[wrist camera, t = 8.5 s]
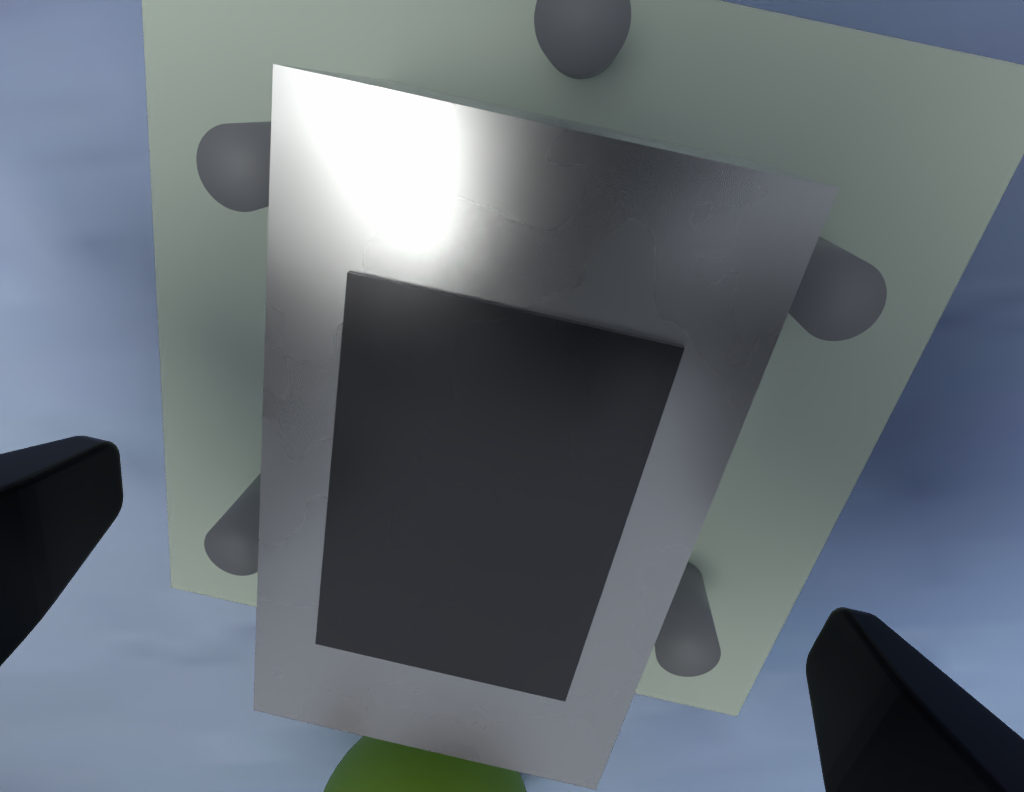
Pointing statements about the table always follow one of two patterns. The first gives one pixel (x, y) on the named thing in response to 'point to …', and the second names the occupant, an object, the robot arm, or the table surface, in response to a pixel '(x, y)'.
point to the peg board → (627, 108)
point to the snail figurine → (415, 771)
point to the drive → (496, 408)
